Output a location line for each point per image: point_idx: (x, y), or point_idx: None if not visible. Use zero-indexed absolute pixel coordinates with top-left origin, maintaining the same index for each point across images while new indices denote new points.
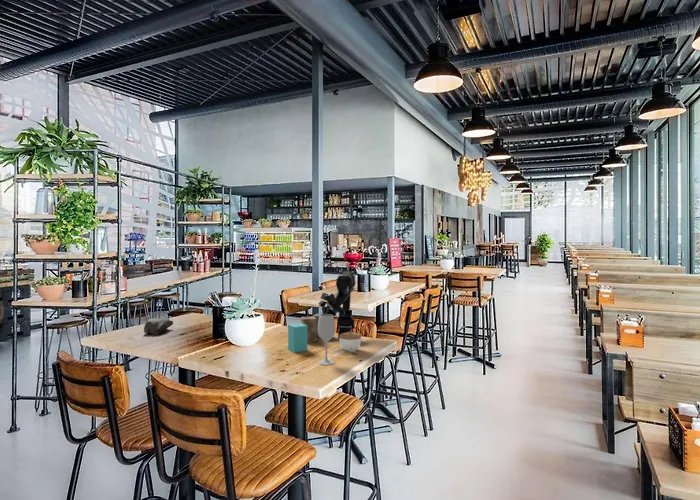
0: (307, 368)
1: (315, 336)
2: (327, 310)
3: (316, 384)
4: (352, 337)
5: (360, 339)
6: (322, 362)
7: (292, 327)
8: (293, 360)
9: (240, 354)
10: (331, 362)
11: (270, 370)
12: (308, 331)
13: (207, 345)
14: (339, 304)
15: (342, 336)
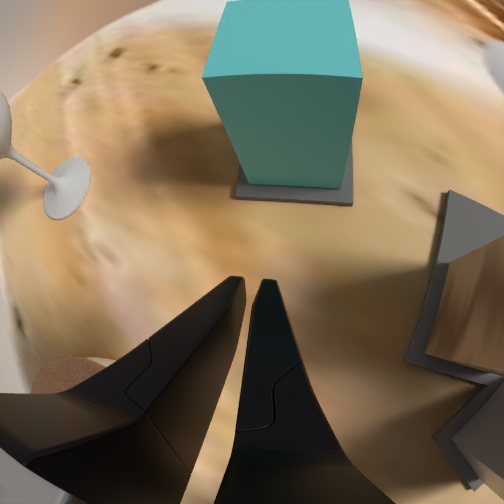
0: (76, 112)
1: (441, 350)
2: (62, 408)
3: (12, 108)
4: (32, 389)
5: None
6: (65, 168)
7: (255, 4)
8: (174, 91)
9: (368, 3)
10: (47, 199)
11: (143, 30)
12: (477, 290)
13: (498, 13)
14: None
15: (68, 360)
